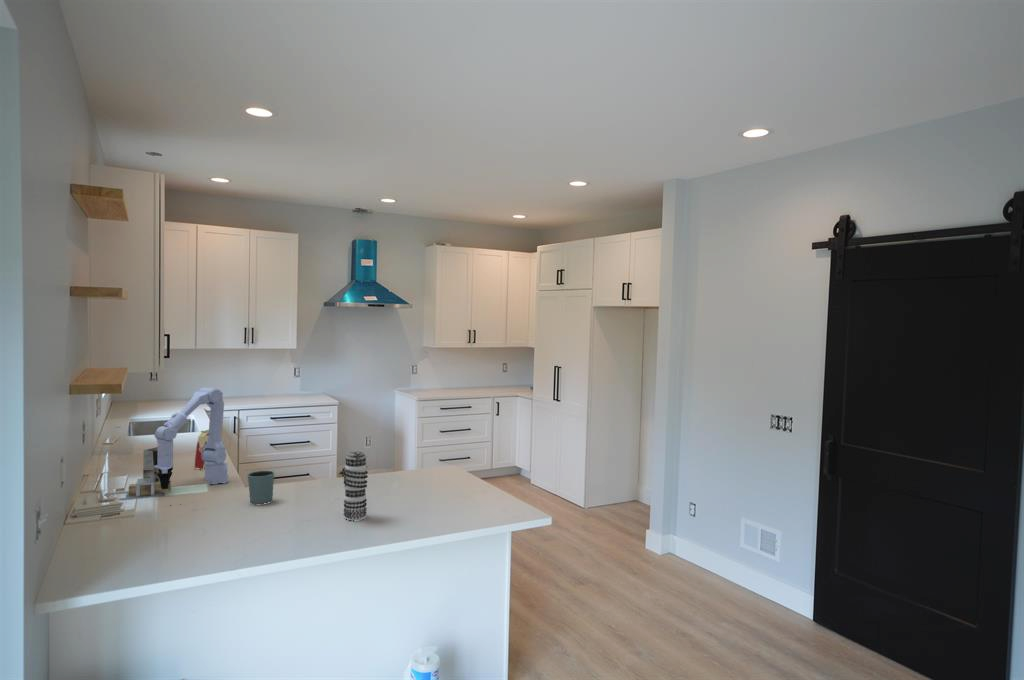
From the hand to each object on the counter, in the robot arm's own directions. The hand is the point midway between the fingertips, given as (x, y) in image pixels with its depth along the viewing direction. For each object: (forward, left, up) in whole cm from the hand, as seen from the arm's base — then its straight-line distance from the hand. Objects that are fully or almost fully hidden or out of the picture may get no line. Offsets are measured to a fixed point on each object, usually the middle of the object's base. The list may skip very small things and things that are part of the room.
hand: (165, 486), depth 259 cm
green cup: (-35, +27, -4) cm, 44 cm away
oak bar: (+5, 0, -2) cm, 6 cm away
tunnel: (+7, 0, -2) cm, 7 cm away
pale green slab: (+3, 0, -4) cm, 5 cm away
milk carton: (-17, -46, -4) cm, 49 cm away
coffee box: (+4, -22, -4) cm, 23 cm away
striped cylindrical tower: (-65, +63, -4) cm, 91 cm away
